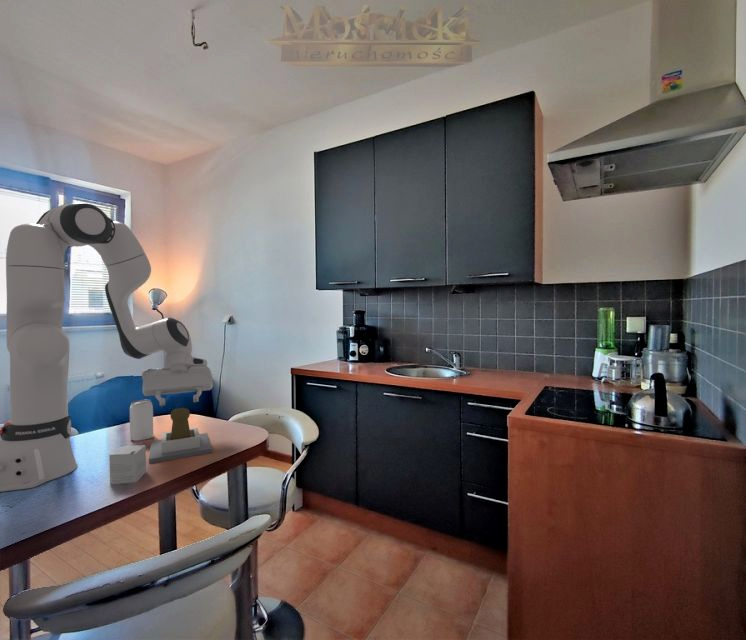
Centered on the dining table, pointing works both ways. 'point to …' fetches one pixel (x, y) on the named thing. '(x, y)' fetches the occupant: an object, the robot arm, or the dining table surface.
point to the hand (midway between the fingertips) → (179, 402)
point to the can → (141, 420)
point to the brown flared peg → (180, 424)
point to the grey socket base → (179, 446)
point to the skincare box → (127, 464)
